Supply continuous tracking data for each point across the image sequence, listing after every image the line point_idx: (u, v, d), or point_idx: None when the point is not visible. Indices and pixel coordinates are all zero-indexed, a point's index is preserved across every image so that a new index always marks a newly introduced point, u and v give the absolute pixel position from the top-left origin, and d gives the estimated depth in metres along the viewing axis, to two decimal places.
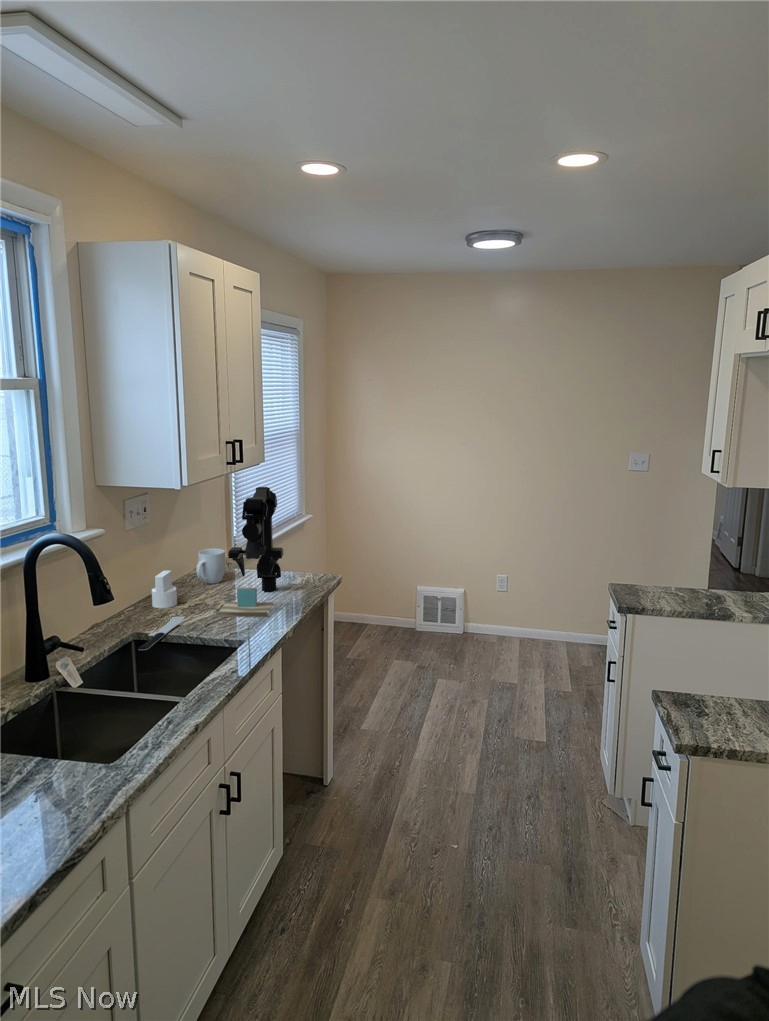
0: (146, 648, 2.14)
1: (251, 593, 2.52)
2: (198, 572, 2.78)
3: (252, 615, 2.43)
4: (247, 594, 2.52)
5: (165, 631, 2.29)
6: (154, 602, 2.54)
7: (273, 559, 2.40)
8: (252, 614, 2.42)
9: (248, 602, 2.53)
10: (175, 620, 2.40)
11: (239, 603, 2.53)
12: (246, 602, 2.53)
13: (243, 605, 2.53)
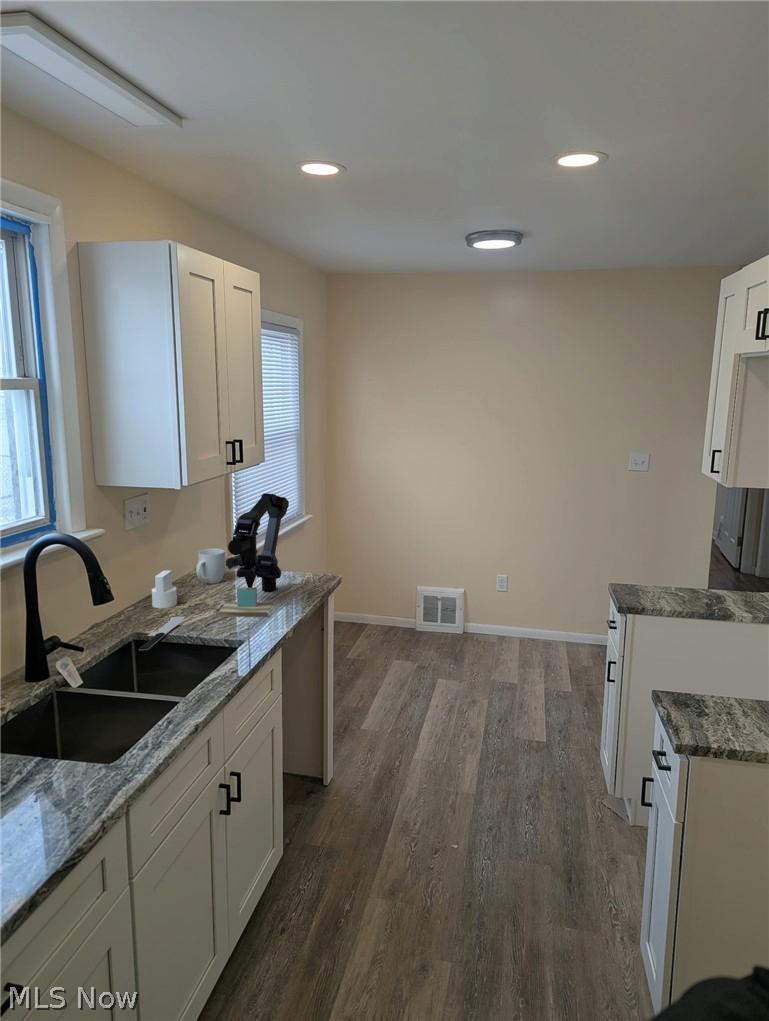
0: (147, 648, 2.13)
1: (251, 593, 2.52)
2: (198, 572, 2.78)
3: (252, 615, 2.43)
4: (247, 594, 2.52)
5: (165, 631, 2.29)
6: (154, 602, 2.54)
7: None
8: (252, 614, 2.42)
9: (248, 602, 2.53)
10: (175, 620, 2.40)
11: (239, 603, 2.53)
12: (246, 602, 2.53)
13: (243, 605, 2.53)
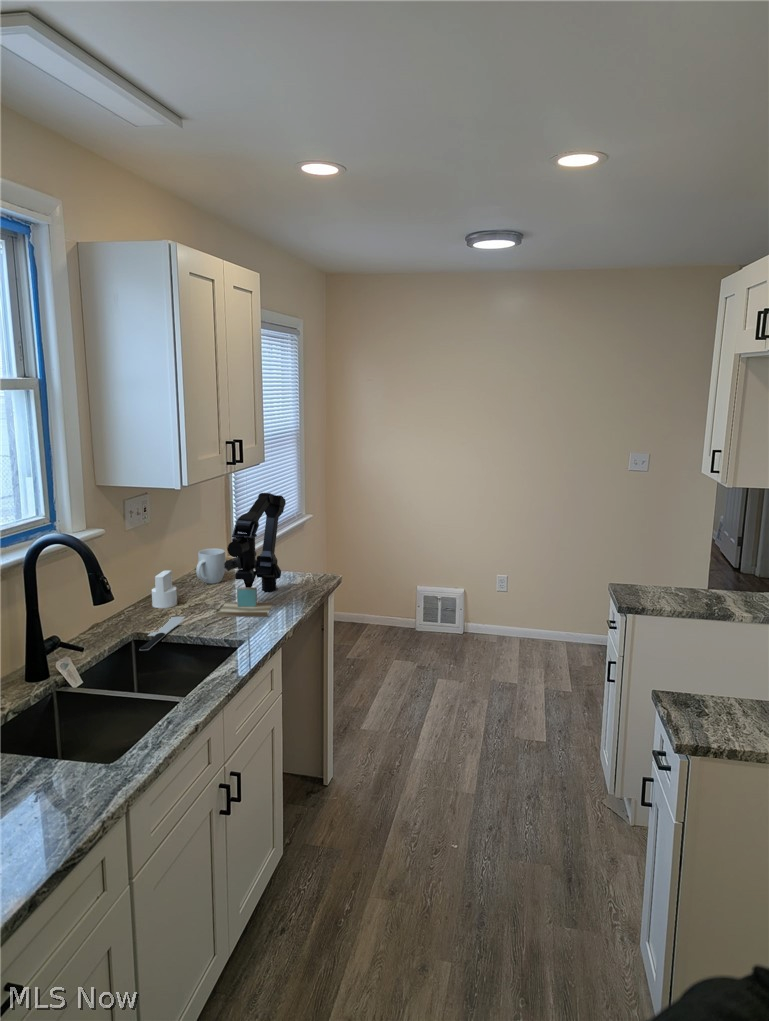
0: (147, 648, 2.13)
1: (251, 593, 2.52)
2: (198, 572, 2.78)
3: (252, 615, 2.43)
4: (247, 594, 2.52)
5: (165, 631, 2.28)
6: (154, 602, 2.54)
7: None
8: (252, 614, 2.42)
9: (248, 602, 2.53)
10: (175, 620, 2.40)
11: (239, 603, 2.53)
12: (246, 602, 2.53)
13: (243, 605, 2.53)
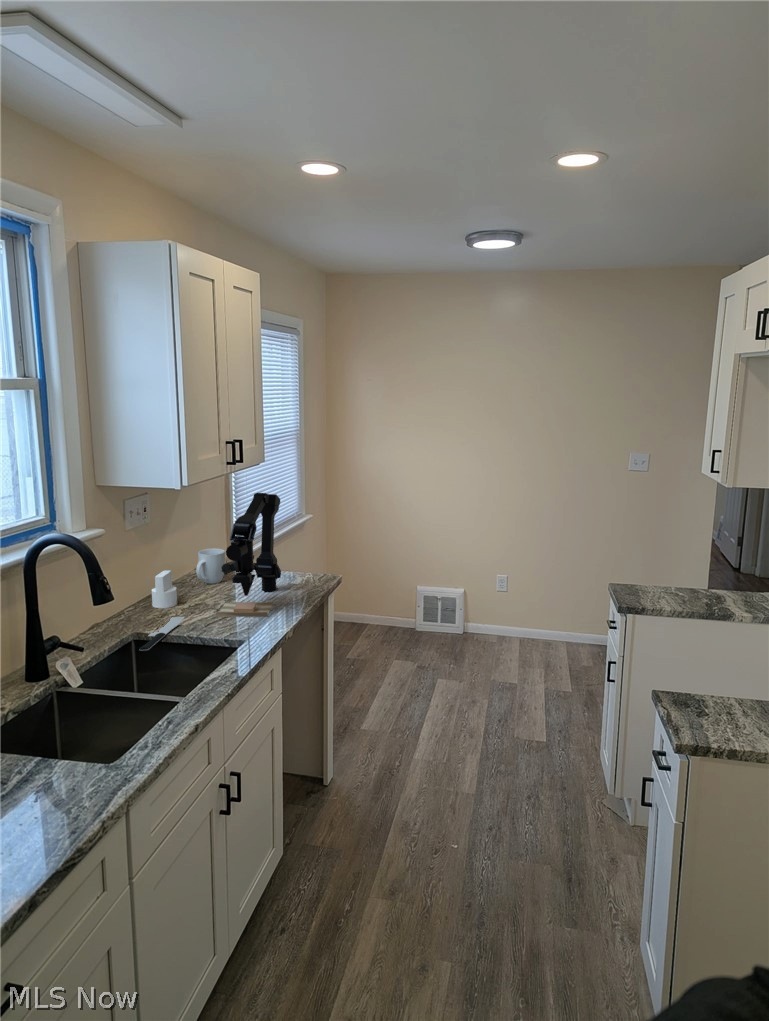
0: (147, 648, 2.13)
1: None
2: (198, 572, 2.78)
3: (252, 615, 2.43)
4: None
5: (165, 631, 2.28)
6: (154, 602, 2.54)
7: None
8: (252, 614, 2.42)
9: None
10: (175, 620, 2.39)
11: None
12: None
13: None
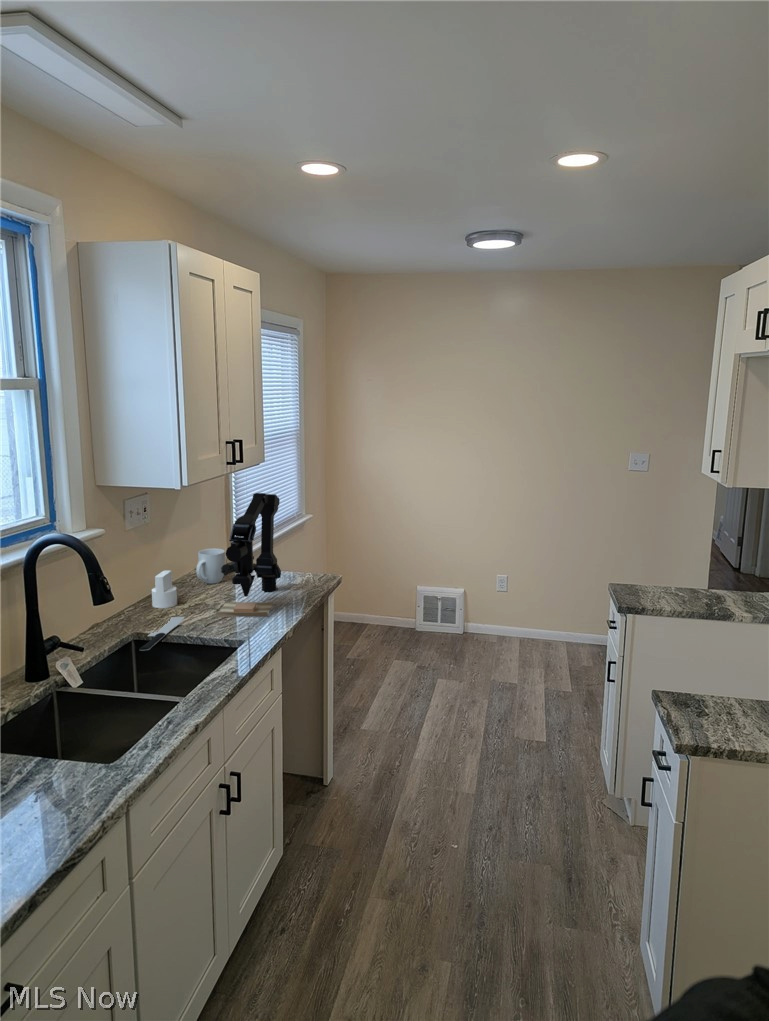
0: (147, 648, 2.13)
1: None
2: (198, 572, 2.78)
3: (252, 615, 2.43)
4: None
5: (165, 631, 2.28)
6: (154, 602, 2.54)
7: None
8: (252, 614, 2.42)
9: None
10: (175, 620, 2.39)
11: None
12: None
13: None
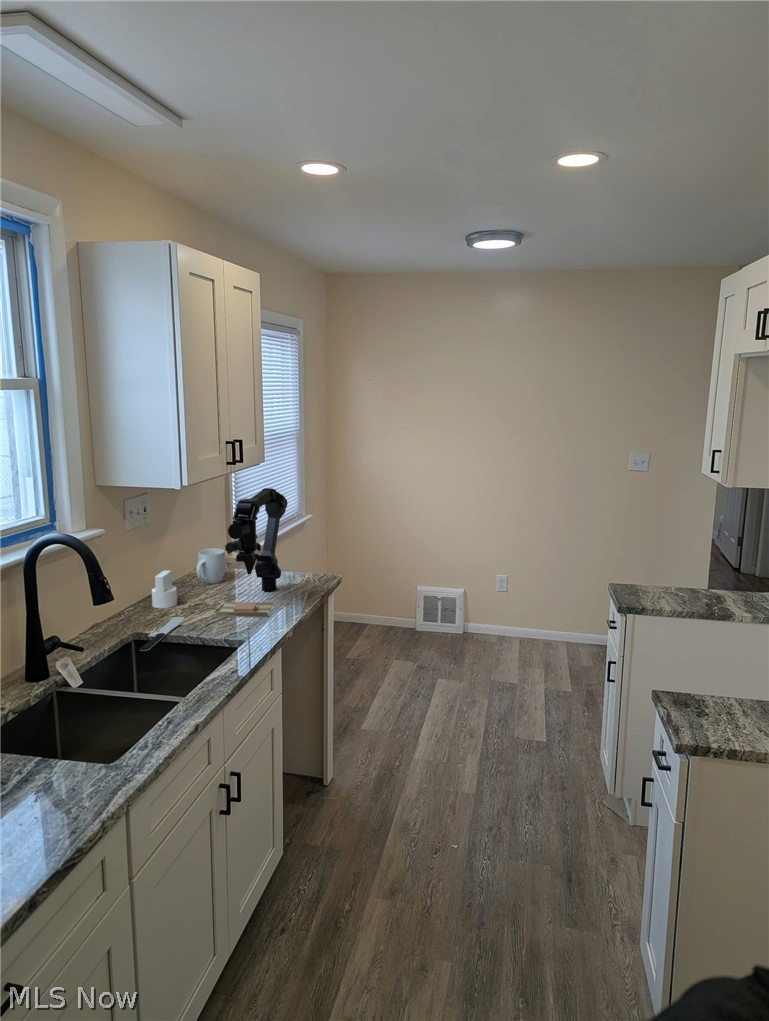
0: (147, 649, 2.13)
1: None
2: (198, 572, 2.78)
3: (252, 615, 2.43)
4: None
5: (165, 631, 2.28)
6: (154, 602, 2.54)
7: None
8: (252, 614, 2.42)
9: None
10: (175, 620, 2.39)
11: None
12: None
13: None
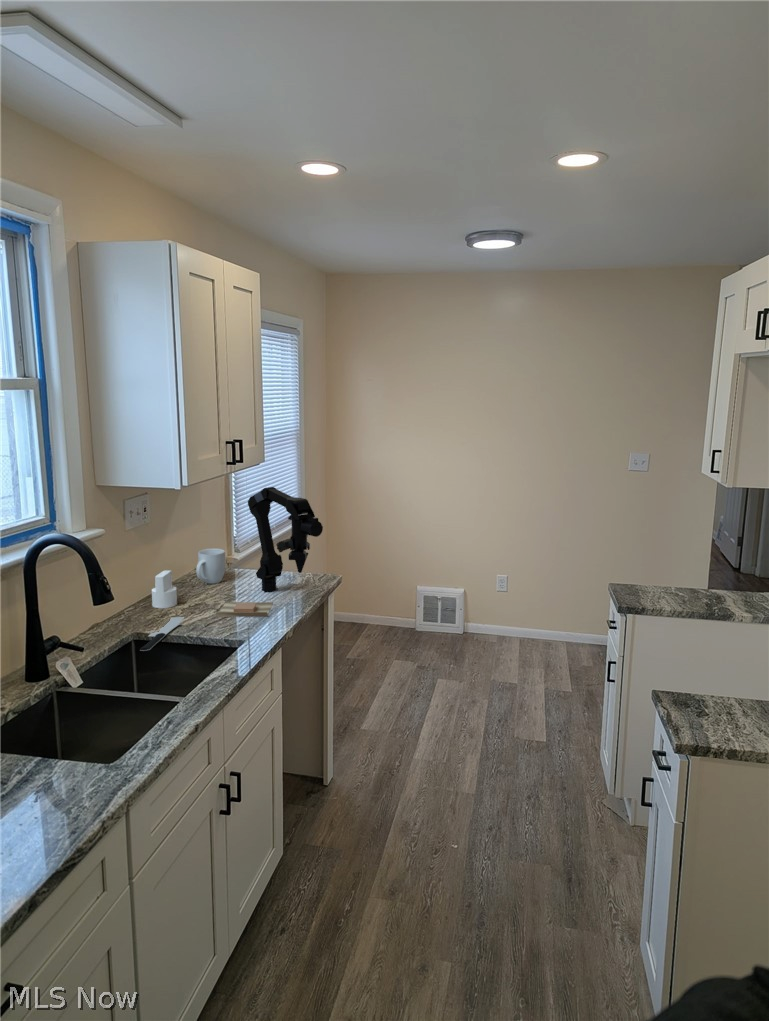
0: (148, 649, 2.13)
1: None
2: (198, 572, 2.78)
3: (252, 615, 2.43)
4: None
5: (165, 632, 2.28)
6: (154, 602, 2.54)
7: None
8: (252, 614, 2.42)
9: None
10: (175, 621, 2.39)
11: None
12: None
13: None
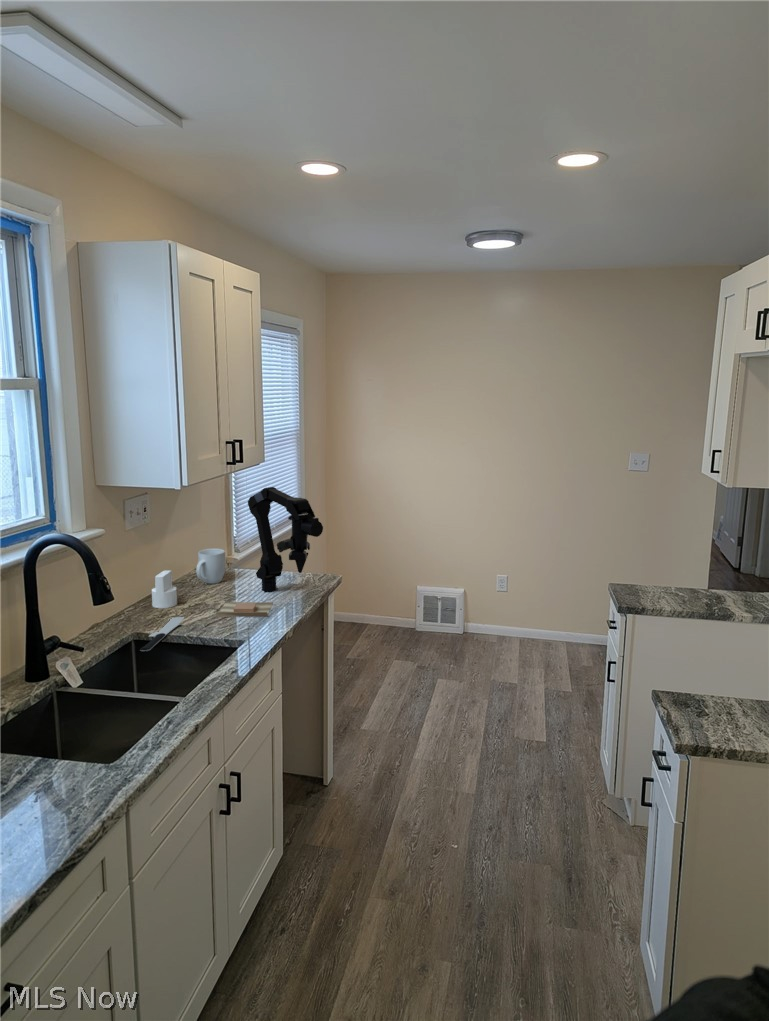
0: (148, 649, 2.13)
1: None
2: (198, 572, 2.78)
3: (252, 615, 2.43)
4: None
5: (166, 632, 2.28)
6: (154, 602, 2.54)
7: None
8: (252, 614, 2.42)
9: None
10: (175, 621, 2.39)
11: None
12: None
13: None
